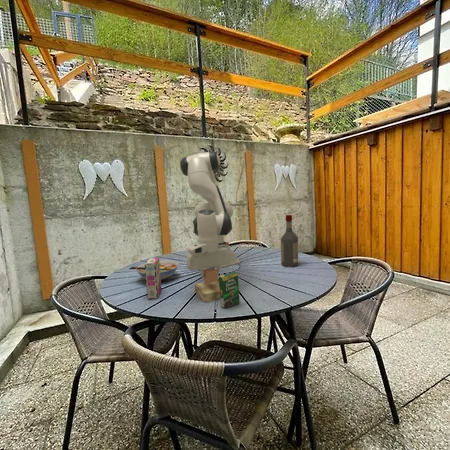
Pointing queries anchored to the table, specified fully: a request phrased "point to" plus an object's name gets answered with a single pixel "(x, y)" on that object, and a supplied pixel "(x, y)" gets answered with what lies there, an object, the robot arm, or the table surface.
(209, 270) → the terracotta cube
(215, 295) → the maple block
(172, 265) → the ramen bowl
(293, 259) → the liquor
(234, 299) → the coffee box
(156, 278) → the candy bar box
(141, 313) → the table surface
